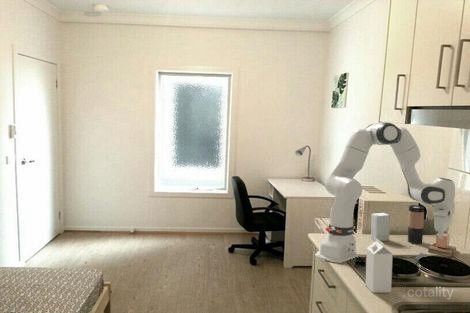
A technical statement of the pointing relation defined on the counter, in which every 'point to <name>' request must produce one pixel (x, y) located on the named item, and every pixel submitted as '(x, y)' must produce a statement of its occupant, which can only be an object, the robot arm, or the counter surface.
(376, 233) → the skincare box
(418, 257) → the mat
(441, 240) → the cap
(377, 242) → the milk carton
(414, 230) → the travel mug
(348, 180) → the robot arm
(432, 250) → the post stand
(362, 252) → the counter surface
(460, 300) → the counter surface
